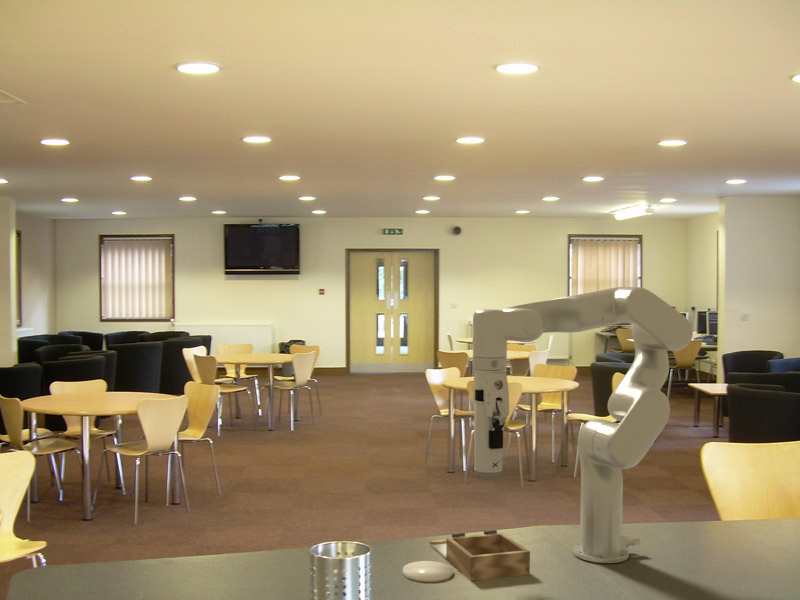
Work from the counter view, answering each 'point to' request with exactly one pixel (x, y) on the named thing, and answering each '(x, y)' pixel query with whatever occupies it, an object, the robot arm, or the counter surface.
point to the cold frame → (484, 555)
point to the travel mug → (484, 443)
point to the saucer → (427, 571)
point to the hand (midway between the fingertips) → (489, 444)
